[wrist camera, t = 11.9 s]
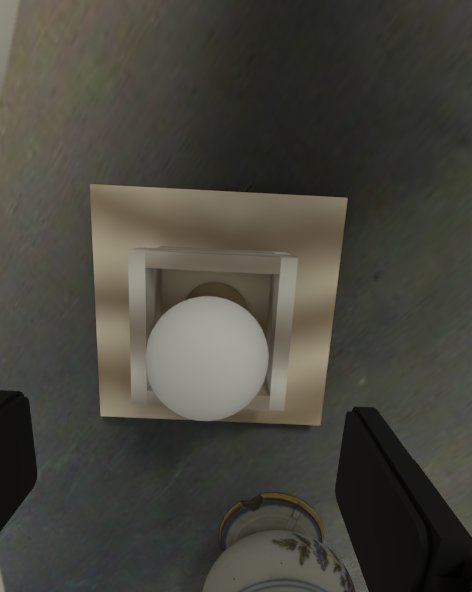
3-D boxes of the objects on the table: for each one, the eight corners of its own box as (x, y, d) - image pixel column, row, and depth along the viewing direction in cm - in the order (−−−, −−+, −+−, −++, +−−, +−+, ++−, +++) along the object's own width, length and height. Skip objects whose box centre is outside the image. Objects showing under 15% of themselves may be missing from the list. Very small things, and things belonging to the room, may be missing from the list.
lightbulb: (273, 320, 24) (305, 398, 13) (210, 366, 25) (191, 475, 14) (223, 256, 23) (213, 283, 12) (158, 306, 24) (96, 374, 13)
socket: (98, 186, 24) (53, 173, 18) (340, 199, 24) (375, 191, 18) (107, 406, 28) (73, 454, 22) (315, 414, 28) (337, 465, 22)
